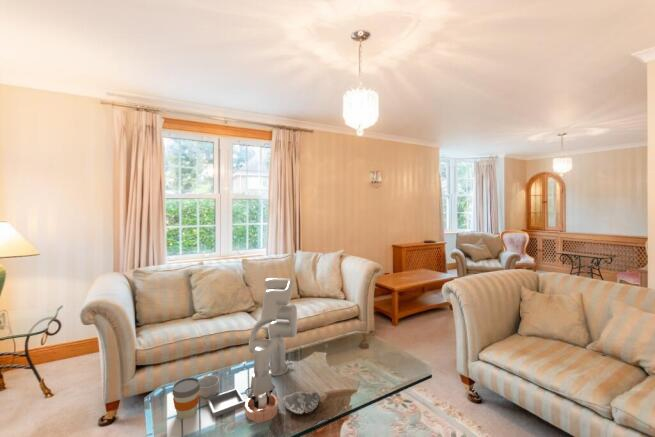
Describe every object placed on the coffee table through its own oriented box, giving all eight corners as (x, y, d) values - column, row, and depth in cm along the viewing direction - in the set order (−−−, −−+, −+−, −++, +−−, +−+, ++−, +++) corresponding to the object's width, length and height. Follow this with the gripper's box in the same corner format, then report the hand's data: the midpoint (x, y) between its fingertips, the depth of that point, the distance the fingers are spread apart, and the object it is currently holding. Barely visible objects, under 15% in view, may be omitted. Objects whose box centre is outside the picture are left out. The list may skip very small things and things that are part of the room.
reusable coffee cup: (195, 401, 169) (195, 374, 167) (204, 414, 159) (203, 385, 158) (170, 411, 161) (169, 383, 159) (177, 426, 151) (176, 396, 150)
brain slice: (285, 421, 155) (285, 416, 155) (281, 399, 172) (281, 394, 171) (324, 414, 160) (324, 409, 160) (316, 393, 177) (316, 388, 176)
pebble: (264, 401, 165) (264, 392, 165) (268, 406, 161) (268, 397, 161) (255, 404, 163) (255, 395, 162) (258, 410, 158) (258, 401, 158)
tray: (237, 393, 176) (237, 388, 176) (245, 406, 165) (245, 401, 165) (206, 403, 167) (206, 398, 167) (213, 418, 156) (213, 412, 156)
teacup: (220, 398, 171) (219, 384, 171) (198, 403, 167) (197, 388, 167) (218, 383, 184) (218, 370, 183) (198, 387, 180) (198, 374, 179)
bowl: (270, 396, 173) (270, 388, 173) (283, 414, 160) (283, 405, 160) (241, 407, 164) (241, 399, 164) (252, 427, 151) (252, 418, 151)
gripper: (274, 362, 168) (274, 395, 170) (242, 372, 159) (242, 407, 160) (280, 369, 162) (280, 403, 164) (247, 380, 152) (248, 416, 154)
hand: (261, 404), depth 162 cm, fingers closed on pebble, 4 cm apart
